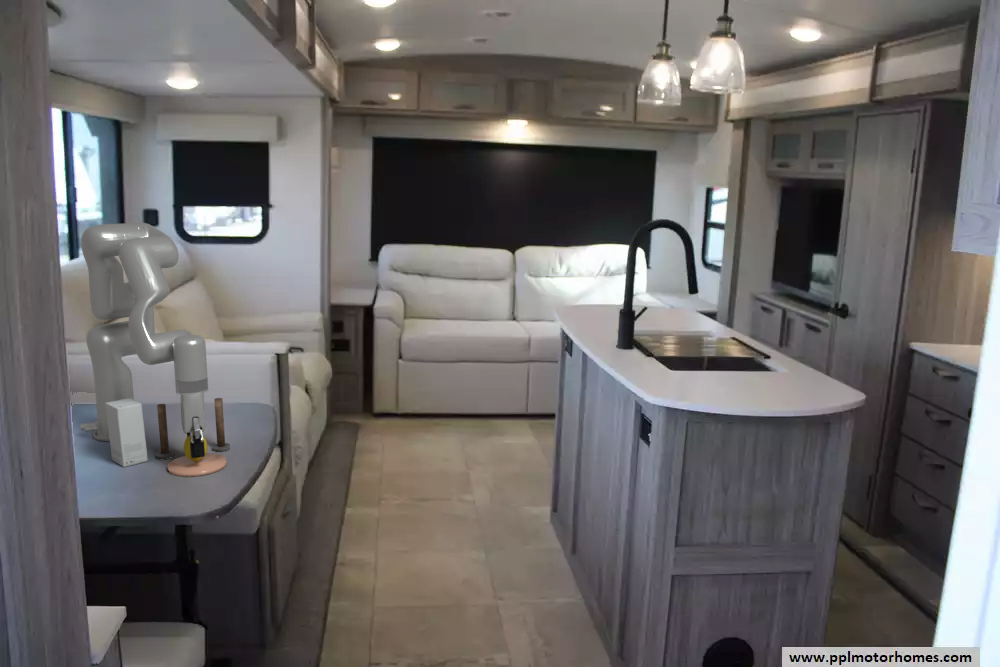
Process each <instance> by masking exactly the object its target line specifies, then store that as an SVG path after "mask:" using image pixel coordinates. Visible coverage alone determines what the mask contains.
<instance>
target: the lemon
mask: <svg viewBox="0 0 1000 667" xmlns="http://www.w3.org/2000/svg"><path fill="white" fill-rule="evenodd" d="M193 435H194V434H193ZM203 441H204V449H205V455H206V453H208V442H207V440H206V437H205V436H204V435H203ZM190 442H191V436H190V435H189V436H188V437H187V436H186V438H185V440H184V443H183V444H184V445H183V451H184V456H187V458H188V459H190V460H192V461H194V462H196V463H197V462H199V461H200V460H201V459H203V458H204V457H205V456H204V457H199V458H191V450H190Z"/></svg>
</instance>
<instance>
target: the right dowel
mask: <svg viewBox="0 0 1000 667" xmlns="http://www.w3.org/2000/svg"><path fill="white" fill-rule="evenodd" d="M213 401H214V413H215V414H214V417H215V430H216V443H215V444H213V445H212V451H213V452H214V451H215V452H214V453H224V452H223V451H225V452H228V451H230V450H231V444H230V443H227V442H226V435H225V422H224V405H223V404H224V403H223V401H224V400H223V397H216V398H214V400H213ZM229 449H230V450H229ZM227 450H228V451H227Z"/></svg>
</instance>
